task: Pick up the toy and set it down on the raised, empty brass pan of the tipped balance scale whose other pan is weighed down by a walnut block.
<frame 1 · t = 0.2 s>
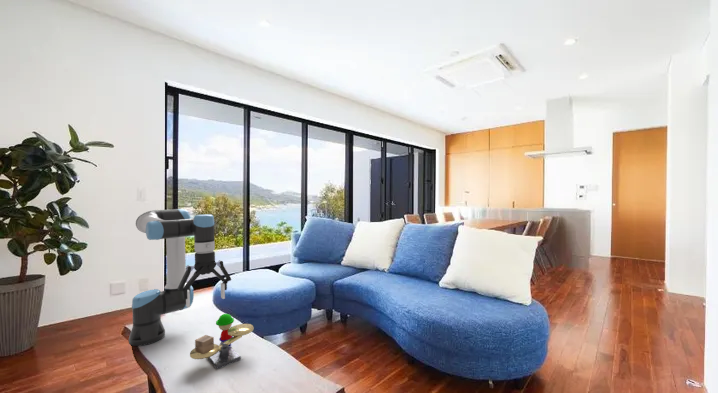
hand: (206, 302, 129), 27 cm above the table, fingers open, 13 cm apart
balance: (223, 358, 135), on the table
toy: (225, 345, 147), on the table
walnut block: (204, 350, 130), point 7 cm above the table, touching balance
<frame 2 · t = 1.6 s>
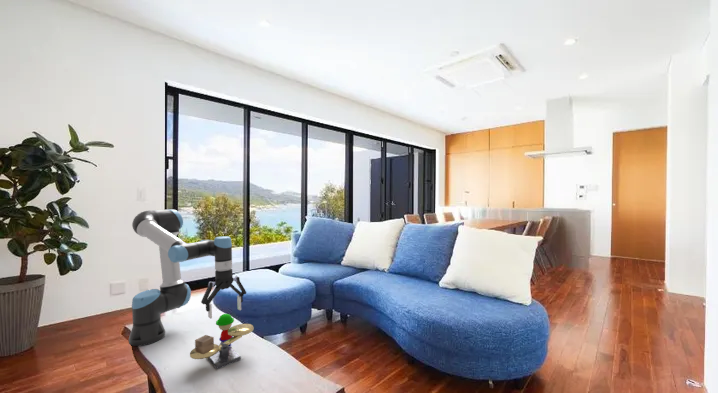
hand: (225, 313, 147), 15 cm above the table, fingers open, 13 cm apart
nothing on the table moved.
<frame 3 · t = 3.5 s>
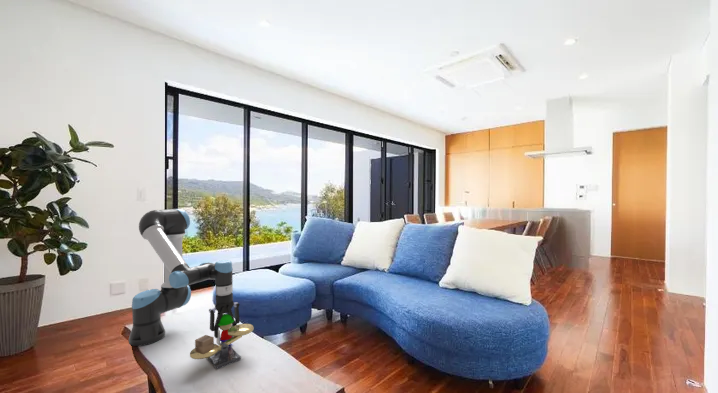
hand: (225, 341, 147), 2 cm above the table, fingers closed on toy, 6 cm apart
toy: (225, 345, 147), on the table, touching gripper
everything else where it was.
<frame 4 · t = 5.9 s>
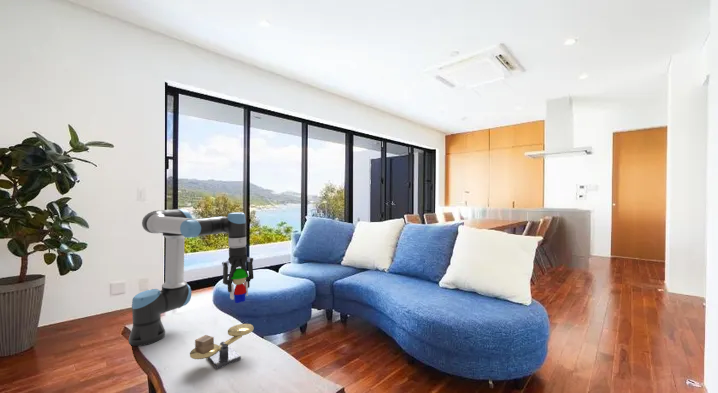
hand: (239, 296, 140), 25 cm above the table, fingers closed on toy, 6 cm apart
toy: (239, 301, 140), point 23 cm above the table, touching gripper
everything else where it was.
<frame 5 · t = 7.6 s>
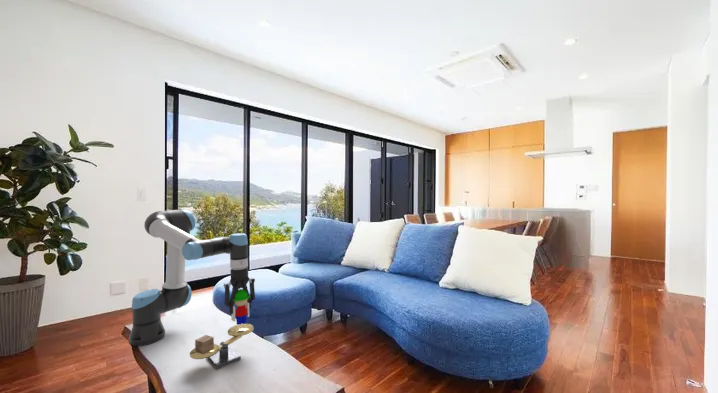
hand: (240, 318, 140), 16 cm above the table, fingers closed on toy, 6 cm apart
toy: (240, 322, 140), point 14 cm above the table, touching gripper
everything else where it was.
when the fingers open (14 cm above the table, at t = 8.4 s): toy drops 1 cm, resting on balance.
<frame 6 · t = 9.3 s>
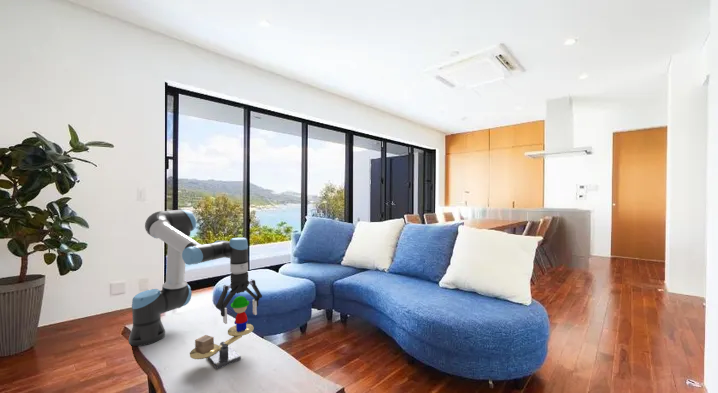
hand: (240, 318, 140), 16 cm above the table, fingers open, 13 cm apart
toy: (240, 329, 140), point 11 cm above the table, touching balance
everything else where it was.
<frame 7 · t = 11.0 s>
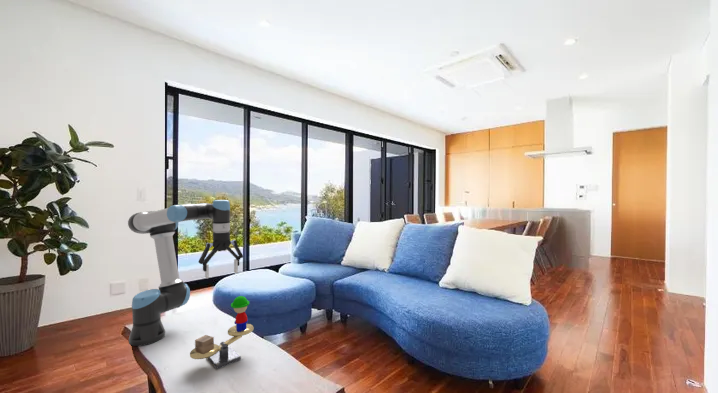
hand: (221, 275, 150), 33 cm above the table, fingers open, 13 cm apart
nothing on the table moved.
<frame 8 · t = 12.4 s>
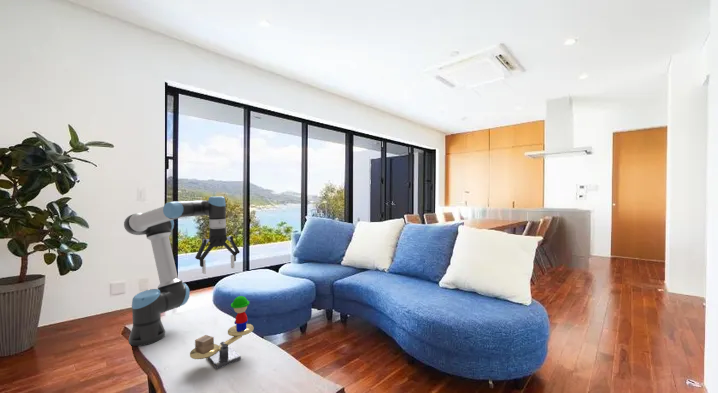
hand: (218, 270, 152), 35 cm above the table, fingers open, 13 cm apart
nothing on the table moved.
at the end: toy inside the target area on the balance (0.0 cm from its centre), point 10.6 cm above the balance's base; toy tilted 0°; the gripper is holding nothing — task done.
